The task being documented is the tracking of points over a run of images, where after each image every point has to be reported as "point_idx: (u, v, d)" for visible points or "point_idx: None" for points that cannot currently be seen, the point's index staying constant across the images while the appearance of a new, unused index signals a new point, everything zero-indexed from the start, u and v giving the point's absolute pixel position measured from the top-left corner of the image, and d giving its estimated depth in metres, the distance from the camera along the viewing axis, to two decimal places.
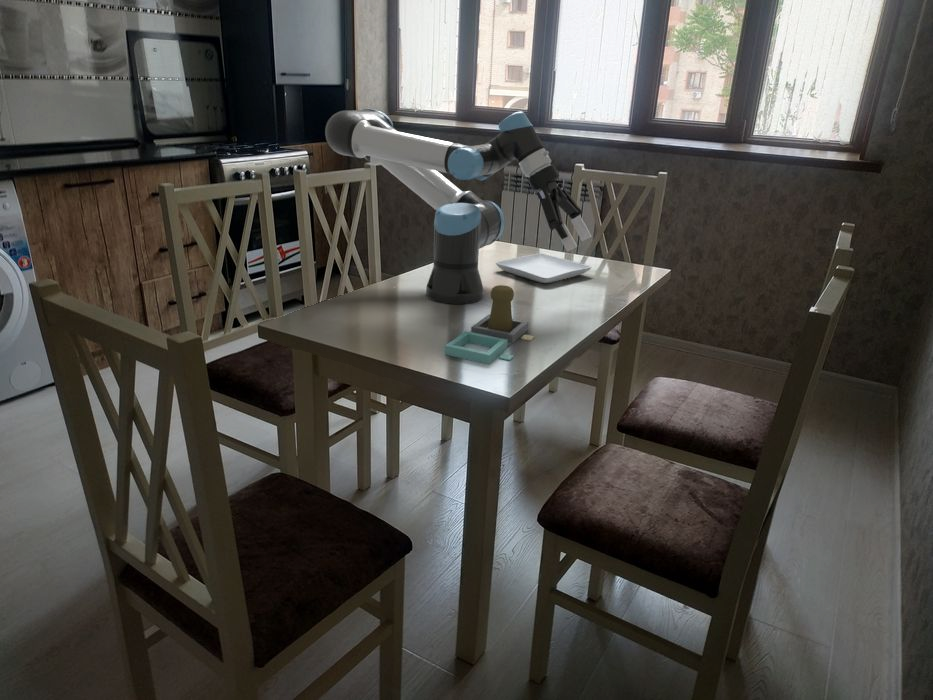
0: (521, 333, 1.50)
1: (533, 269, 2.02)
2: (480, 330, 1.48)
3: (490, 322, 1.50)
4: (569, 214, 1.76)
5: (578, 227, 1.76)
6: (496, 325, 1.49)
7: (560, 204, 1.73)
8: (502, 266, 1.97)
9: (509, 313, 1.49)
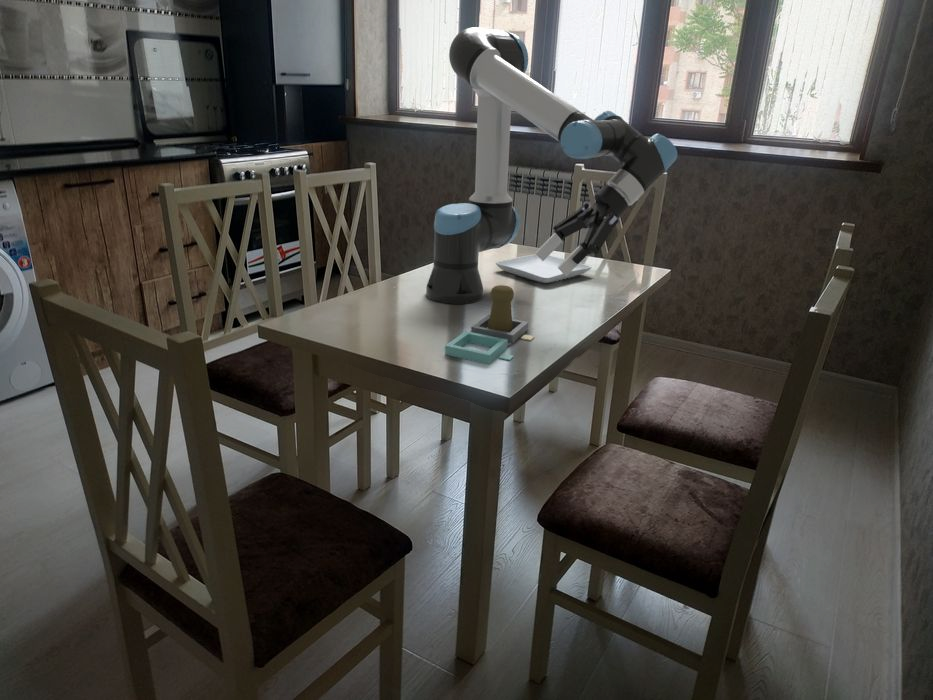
0: (521, 333, 1.50)
1: (533, 269, 2.02)
2: (480, 330, 1.48)
3: (490, 322, 1.50)
4: (562, 230, 1.54)
5: (550, 244, 1.54)
6: (496, 325, 1.49)
7: (578, 222, 1.51)
8: (502, 266, 1.97)
9: (509, 313, 1.49)
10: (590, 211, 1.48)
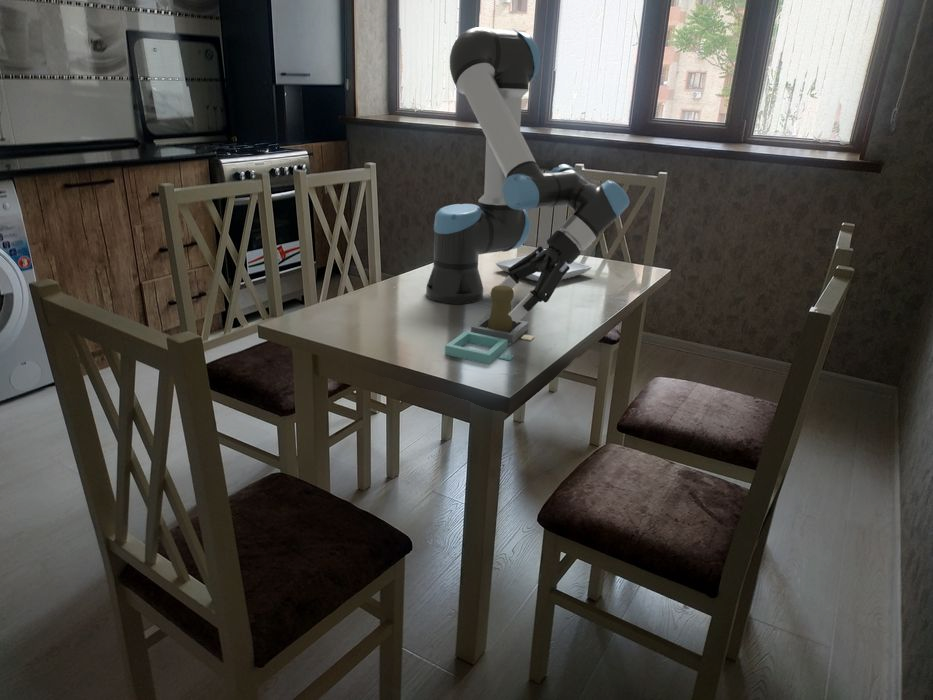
0: (521, 333, 1.50)
1: None
2: (480, 330, 1.48)
3: (490, 322, 1.50)
4: (515, 273, 1.53)
5: None
6: (496, 325, 1.49)
7: (531, 266, 1.51)
8: (502, 266, 1.97)
9: None
10: (542, 256, 1.48)
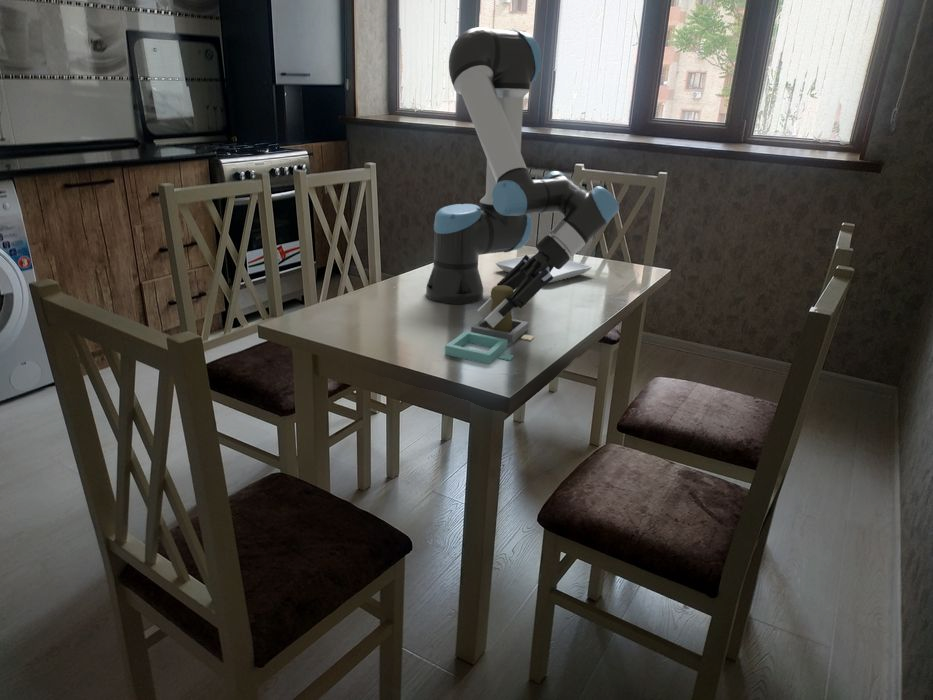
0: (521, 333, 1.50)
1: None
2: (480, 330, 1.48)
3: None
4: None
5: (492, 302, 1.51)
6: (496, 325, 1.49)
7: (521, 275, 1.50)
8: (502, 266, 1.97)
9: (509, 313, 1.49)
10: (533, 260, 1.48)
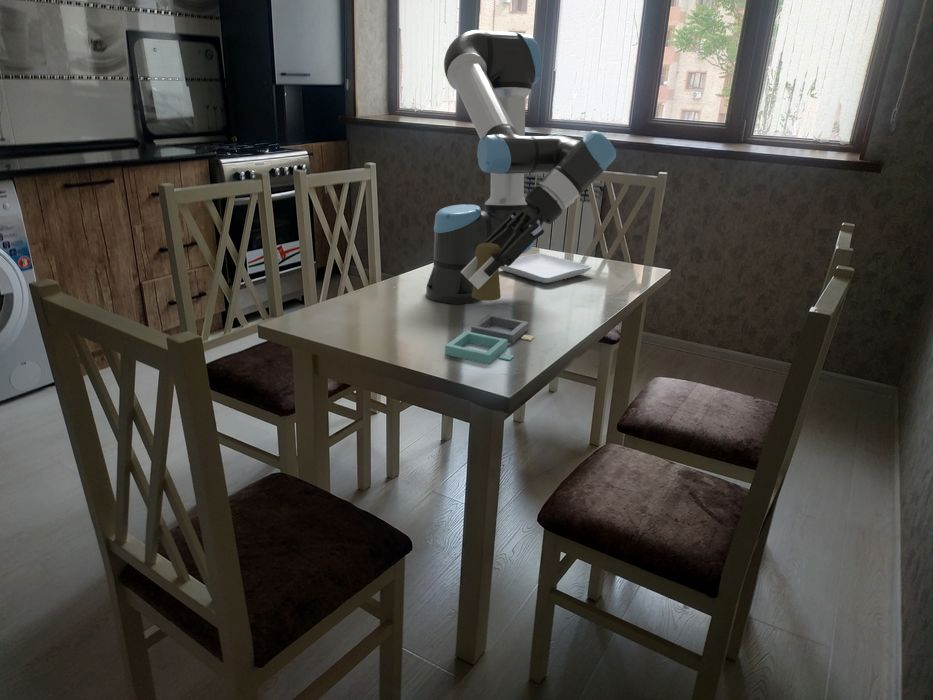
0: (521, 333, 1.50)
1: (533, 269, 2.02)
2: (480, 330, 1.48)
3: None
4: None
5: None
6: (482, 287, 1.34)
7: (508, 231, 1.35)
8: (502, 266, 1.97)
9: (496, 273, 1.34)
10: (521, 214, 1.33)
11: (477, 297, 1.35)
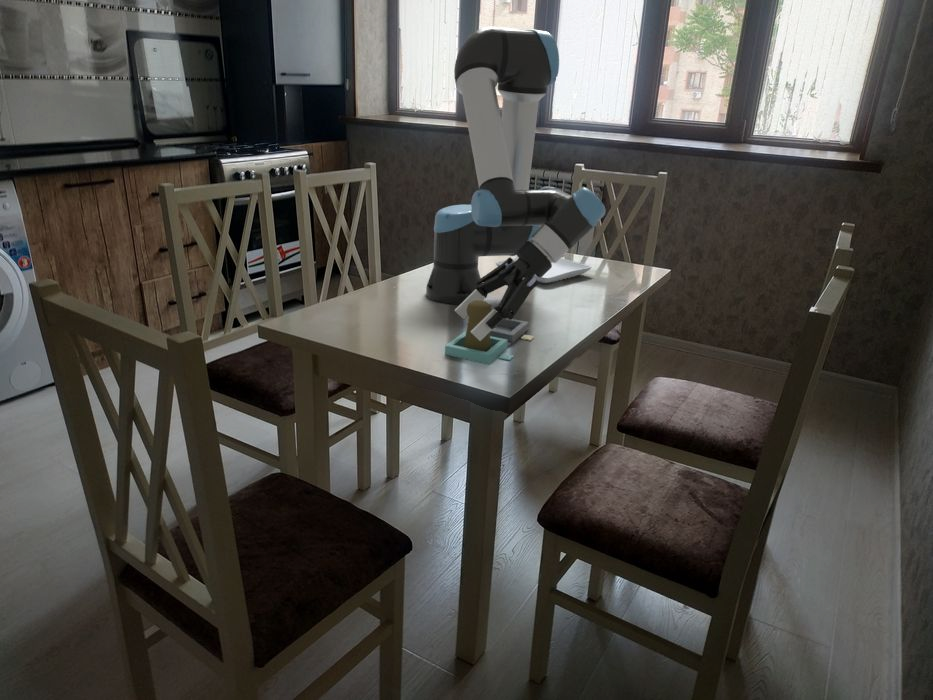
0: (521, 333, 1.50)
1: None
2: None
3: (466, 340, 1.39)
4: (483, 286, 1.42)
5: (470, 301, 1.43)
6: (472, 343, 1.38)
7: (499, 279, 1.40)
8: None
9: None
10: (511, 268, 1.37)
11: None
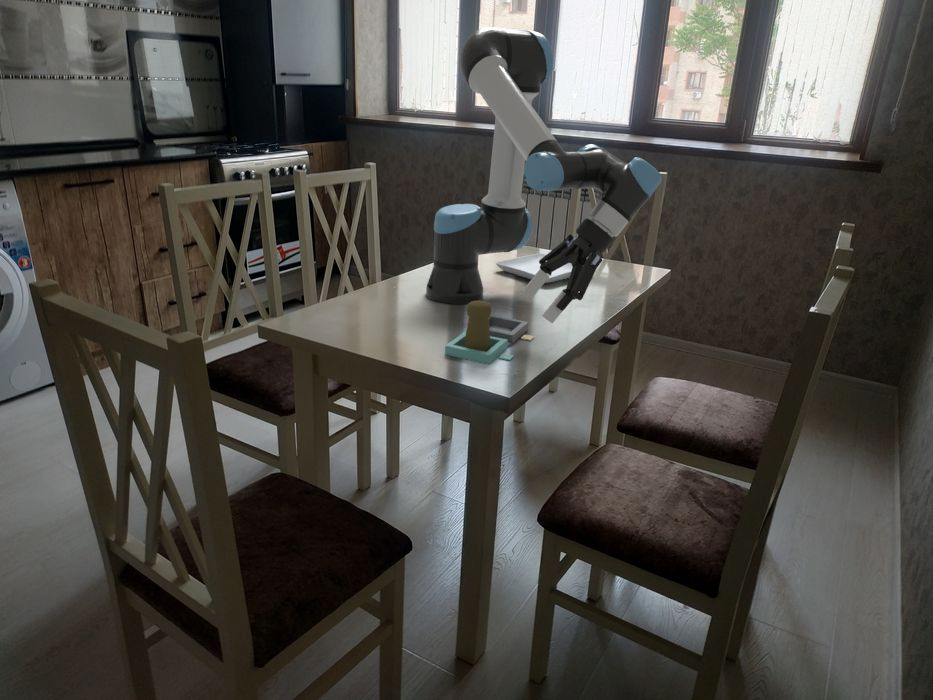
0: (521, 333, 1.50)
1: (533, 269, 2.02)
2: None
3: (466, 340, 1.39)
4: (547, 266, 1.46)
5: (536, 281, 1.47)
6: (472, 343, 1.38)
7: (562, 258, 1.42)
8: (502, 266, 1.97)
9: (486, 330, 1.38)
10: (573, 247, 1.39)
11: None
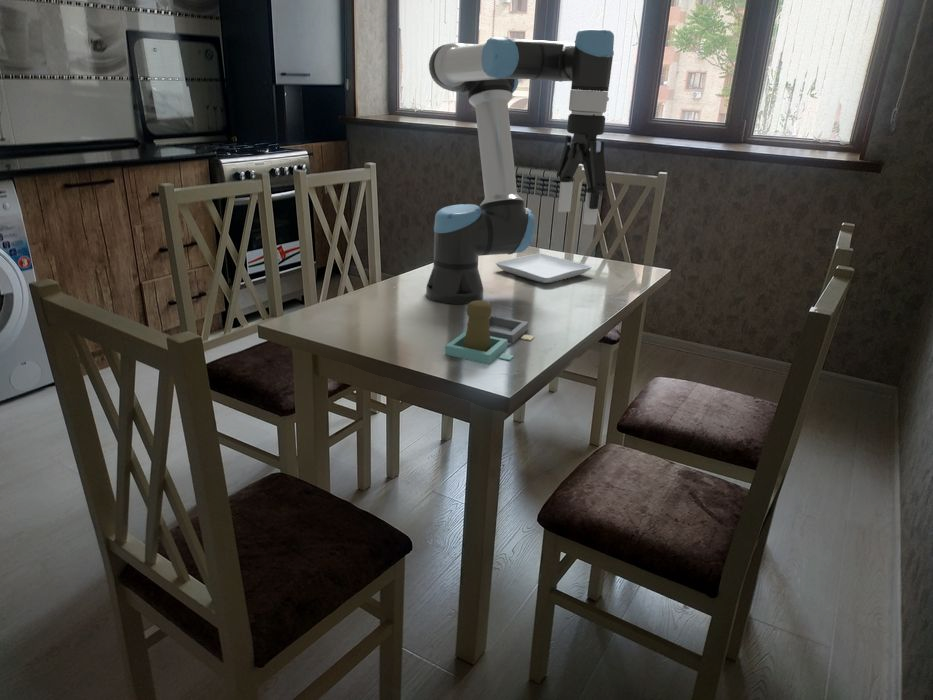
0: (521, 333, 1.50)
1: (533, 269, 2.02)
2: None
3: (466, 340, 1.39)
4: (565, 175, 1.45)
5: (564, 194, 1.47)
6: (472, 343, 1.38)
7: (572, 161, 1.42)
8: (502, 266, 1.97)
9: (486, 330, 1.38)
10: (574, 147, 1.38)
11: None
